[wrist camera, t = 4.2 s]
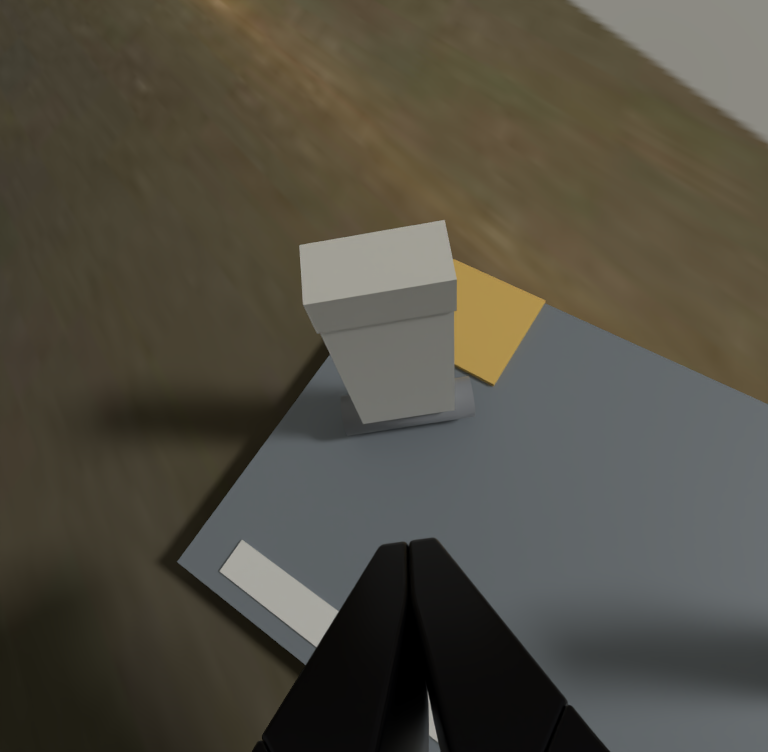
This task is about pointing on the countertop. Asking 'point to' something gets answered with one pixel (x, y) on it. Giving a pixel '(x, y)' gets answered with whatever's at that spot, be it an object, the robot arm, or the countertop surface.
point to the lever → (389, 325)
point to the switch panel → (537, 520)
